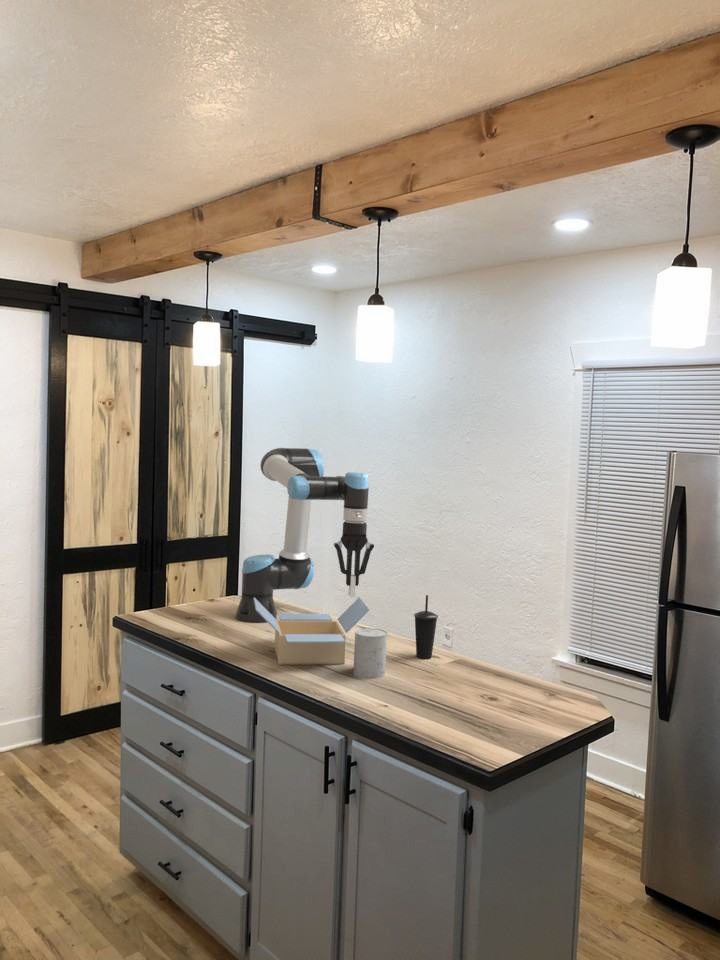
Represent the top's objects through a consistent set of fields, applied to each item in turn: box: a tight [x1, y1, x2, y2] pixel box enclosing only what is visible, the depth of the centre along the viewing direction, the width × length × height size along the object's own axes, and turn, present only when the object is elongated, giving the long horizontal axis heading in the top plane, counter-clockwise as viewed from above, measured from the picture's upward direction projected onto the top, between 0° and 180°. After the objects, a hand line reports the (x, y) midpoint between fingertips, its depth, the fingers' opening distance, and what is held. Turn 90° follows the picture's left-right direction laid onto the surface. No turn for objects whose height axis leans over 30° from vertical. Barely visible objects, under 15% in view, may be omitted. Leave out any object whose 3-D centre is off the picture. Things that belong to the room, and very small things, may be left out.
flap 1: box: [253, 598, 280, 633], centre depth 237 cm, size 17×10×1 cm
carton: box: [274, 613, 347, 666], centre depth 240 cm, size 34×20×9 cm, turn 10°
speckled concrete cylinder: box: [352, 627, 388, 680], centre depth 225 cm, size 10×10×12 cm
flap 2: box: [337, 597, 370, 634], centre depth 242 cm, size 17×10×1 cm
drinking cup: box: [413, 594, 439, 660], centre depth 244 cm, size 8×8×20 cm
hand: (351, 595), depth 241 cm, fingers closed
